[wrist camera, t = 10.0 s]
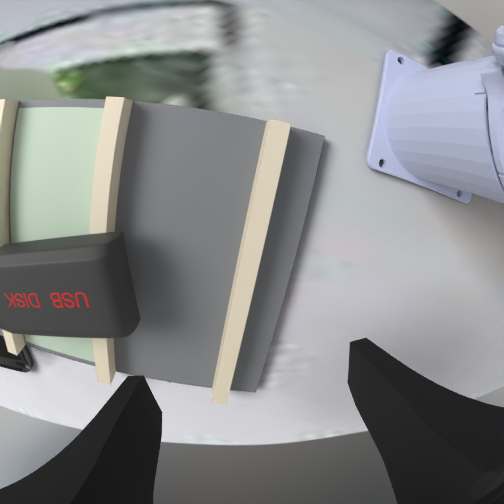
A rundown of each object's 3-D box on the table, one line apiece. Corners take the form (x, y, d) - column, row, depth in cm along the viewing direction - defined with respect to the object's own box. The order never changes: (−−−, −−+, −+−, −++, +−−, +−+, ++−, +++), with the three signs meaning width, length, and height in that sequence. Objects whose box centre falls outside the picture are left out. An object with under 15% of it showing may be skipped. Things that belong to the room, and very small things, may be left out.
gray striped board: (320, 136, 16) (334, 135, 14) (254, 385, 22) (257, 406, 20) (-6, 103, 13) (-26, 103, 11) (2, 329, 18) (-11, 343, 16)
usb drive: (141, 318, 16) (130, 346, 14) (-2, 316, 16) (-22, 336, 13) (124, 230, 15) (105, 248, 12) (-24, 247, 14) (-48, 262, 11)
